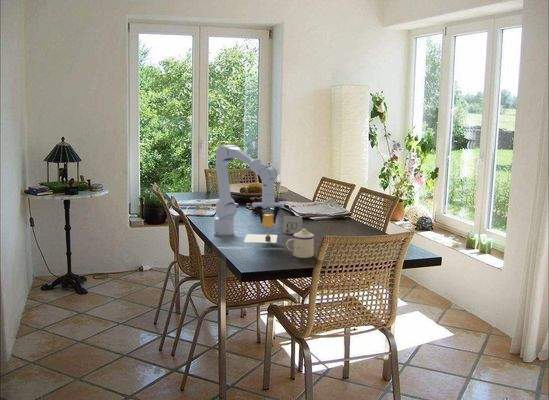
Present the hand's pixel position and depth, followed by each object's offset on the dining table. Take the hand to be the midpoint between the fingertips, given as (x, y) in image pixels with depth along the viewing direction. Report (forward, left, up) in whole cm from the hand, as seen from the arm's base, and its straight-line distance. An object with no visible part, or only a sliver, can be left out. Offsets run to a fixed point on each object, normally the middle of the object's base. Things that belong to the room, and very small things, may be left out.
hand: (268, 222), depth 277 cm
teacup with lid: (+15, -22, -10) cm, 28 cm away
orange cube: (0, 0, -1) cm, 1 cm away
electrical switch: (+11, +18, -10) cm, 23 cm away
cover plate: (-4, +4, -9) cm, 11 cm away
